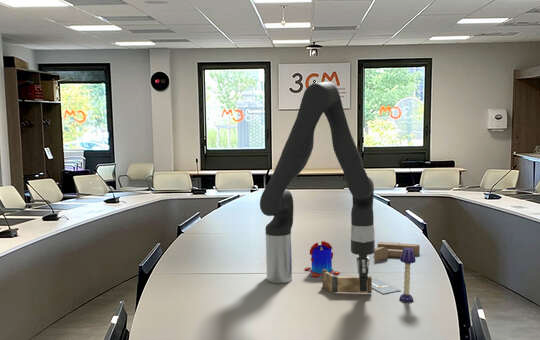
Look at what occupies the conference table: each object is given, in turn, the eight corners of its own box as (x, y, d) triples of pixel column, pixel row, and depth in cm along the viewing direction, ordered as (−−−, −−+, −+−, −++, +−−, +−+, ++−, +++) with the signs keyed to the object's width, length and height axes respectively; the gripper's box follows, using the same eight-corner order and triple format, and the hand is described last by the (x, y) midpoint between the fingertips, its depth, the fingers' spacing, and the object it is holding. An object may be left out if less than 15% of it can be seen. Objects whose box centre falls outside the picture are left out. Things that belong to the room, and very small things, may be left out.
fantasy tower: (312, 278, 176) (312, 246, 175) (302, 269, 187) (301, 239, 186) (342, 275, 179) (342, 243, 178) (330, 266, 190) (329, 236, 189)
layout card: (359, 281, 171) (359, 280, 171) (376, 278, 173) (376, 277, 173) (383, 294, 158) (383, 293, 158) (400, 290, 160) (400, 289, 160)
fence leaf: (332, 292, 159) (332, 277, 159) (332, 290, 161) (332, 275, 160) (371, 293, 158) (371, 277, 157) (371, 291, 159) (371, 276, 159)
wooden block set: (376, 239, 210) (419, 241, 204) (376, 251, 211) (419, 254, 205) (371, 248, 194) (418, 251, 188) (371, 262, 195) (418, 265, 189)
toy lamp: (412, 297, 154) (412, 246, 153) (417, 302, 150) (417, 250, 148) (397, 297, 154) (397, 247, 153) (402, 303, 150) (402, 250, 148)
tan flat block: (321, 286, 167) (321, 269, 166) (325, 285, 167) (325, 268, 167) (331, 292, 161) (331, 274, 160) (335, 291, 161) (335, 274, 161)
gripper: (350, 233, 161) (350, 284, 163) (351, 243, 148) (352, 297, 149) (373, 233, 160) (373, 284, 161) (376, 243, 147) (376, 298, 148)
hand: (363, 290), depth 155 cm, fingers closed
